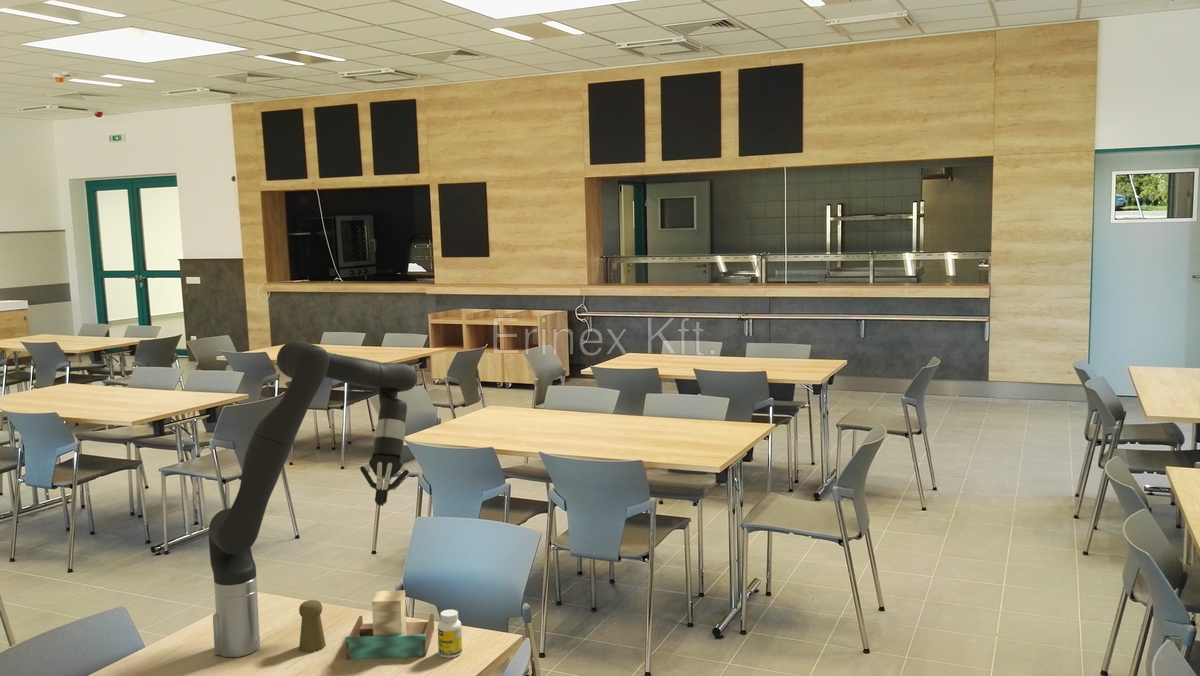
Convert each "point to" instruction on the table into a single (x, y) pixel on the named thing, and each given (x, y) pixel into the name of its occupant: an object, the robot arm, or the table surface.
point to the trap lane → (389, 641)
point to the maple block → (389, 613)
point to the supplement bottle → (449, 634)
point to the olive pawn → (311, 627)
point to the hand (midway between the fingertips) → (380, 505)
